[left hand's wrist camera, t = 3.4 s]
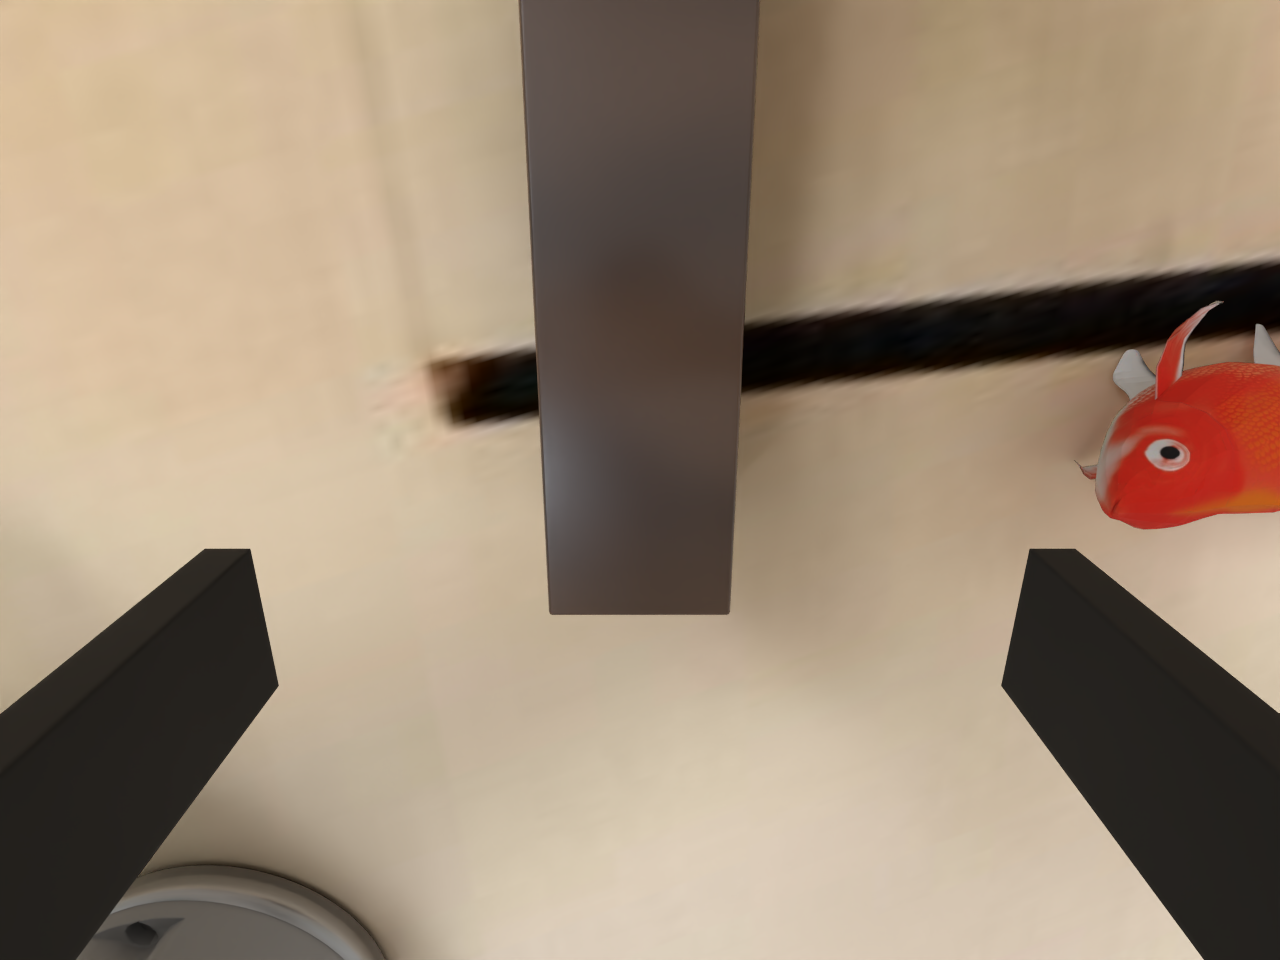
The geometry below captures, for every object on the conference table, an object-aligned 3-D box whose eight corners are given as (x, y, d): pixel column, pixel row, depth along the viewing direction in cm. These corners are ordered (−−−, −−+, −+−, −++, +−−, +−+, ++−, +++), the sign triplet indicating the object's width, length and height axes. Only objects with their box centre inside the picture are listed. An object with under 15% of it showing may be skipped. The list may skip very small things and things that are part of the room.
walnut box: (706, 504, 28) (730, 615, 20) (573, 504, 28) (548, 615, 20) (747, -687, 17) (828, -1362, 10) (531, -687, 17) (448, -1362, 10)
